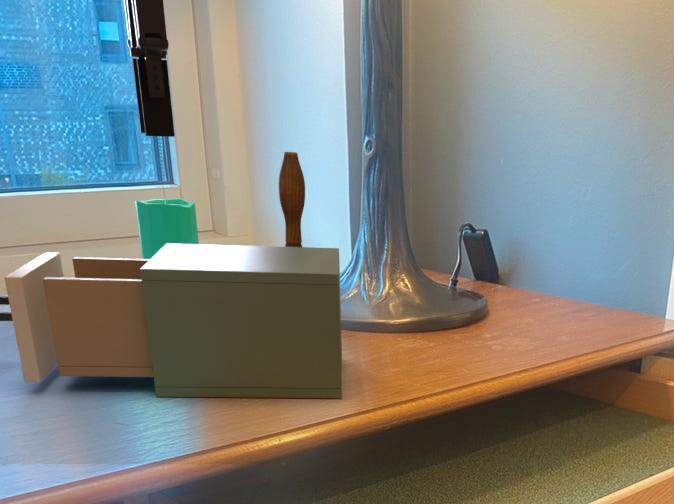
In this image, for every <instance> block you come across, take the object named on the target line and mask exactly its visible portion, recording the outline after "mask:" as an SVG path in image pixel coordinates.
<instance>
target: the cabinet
mask: <svg viewBox="0 0 674 504" xmlns="http://www.w3.org/2000/svg"><path fill="white" fill-rule="evenodd" d="M340 270H341V269H340V248H338V247H307V246H306V247H305V246H302V247H285V246H277V245H276V246H275V245H274V246H273V245H271V246H270V245H238V244H237V245H236V244H235V245H234V244H205V243H203V244H202V243H201V244H200V243H199V244H171V243H167V244H166V245H165V246H164V247H162V248H161V249H160V250H159V251H158V252H157V253H156V254H155V255H154V256H153V257H152V258H151V259H150V260H149V261H148V262H147V263H146V264H145V265H144V266H143V267H142V268H141V269H140V274H141V280H142V289H143V297H144V305H145V313H146V321H147V328H148V336H149V344H150V352H151V360H152V368H153V376H154V377H153V382H154V390H155V391H154V392H155V397H156V398H230V399H231V398H237V399H241V398H242V399H243V398H244V399H245V398H247V399H249V398H251V399H343V343H342V339H343V338H342V307H341V306H342V305H341V273H340V272H341V271H340Z"/></svg>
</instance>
